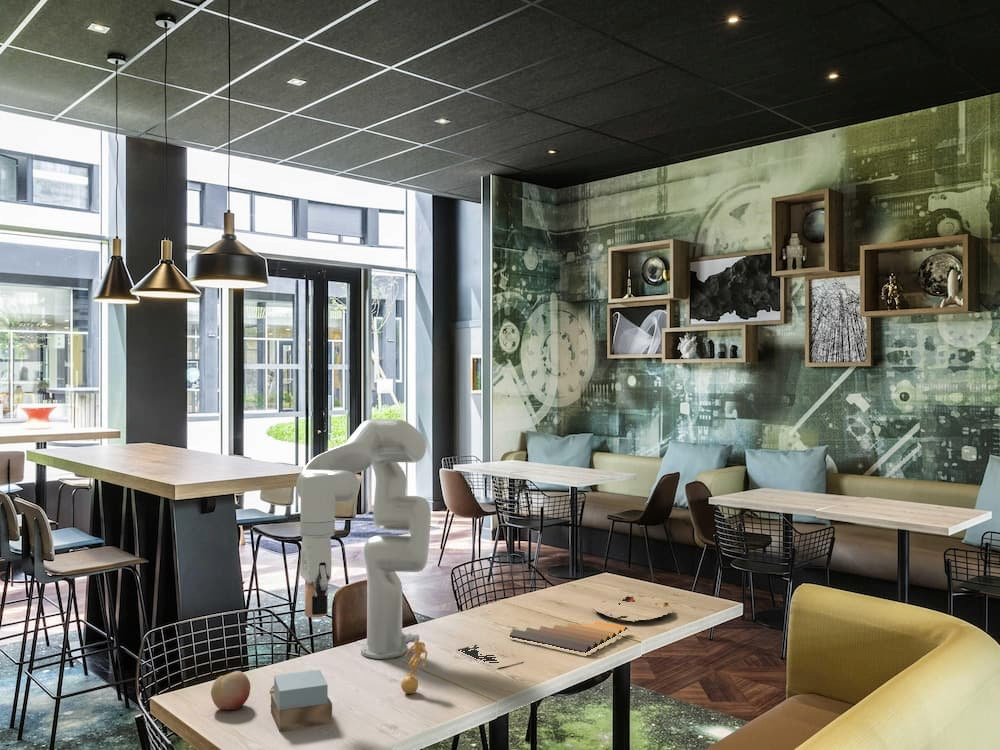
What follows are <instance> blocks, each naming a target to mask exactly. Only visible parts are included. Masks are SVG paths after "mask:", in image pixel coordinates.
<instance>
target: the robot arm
mask: <svg viewBox="0 0 1000 750" xmlns="http://www.w3.org/2000/svg"><path fill="white" fill-rule="evenodd" d="M426 450H427V444H426V440H425V437H424V435H423V434H422V433H421V432H420V431H419V429H417V428H416V427H414V426H413V425H412V424H411V423H409V422H407V421H405V420H402V419H397V418H396V419H395V418H393V419H392V418H391V419H390V418H387V419H386V418H384V419H383V418H382V419H381V418H375V419H374V418H372V419H367V420H364V421H363V422H361V423H360V424H359V426H358V427H357V428H356V429H355V430H354V432H353V433H352V434H351V435H350V436H349V438H348V439H346V441H345V442H344V444H340V445H339V446H336V447H333V448H332V449H329V450H327V451H325V452H322V453H319V454H318V455H316V456H315V457H313V458H312V459H311V460H310V461H308V463H307V464H305V466H304V467H303V468H302V470H301V471H300V473H299V475H298V477H297V480H296V484H295V485H296V486H295V488H296V493H297V495H298V497H300V519H299V520H300V524H299V528H300V529H299V536H300V537H302V539H301V540H302V541H301V551H300V567H299V569H300V570H299V575H300V577H301V578H302V579H303V580H304V581H305V582H308V583H312V581H313V590H314V596H312V614H313V615H319V614H326V613H327V586H328V587H329V582H330V580H331V579H332V541H331V540H332V539H331V538H332V537H334V536H335V533H336V532H335V529H336V527H335V520H336V515H335V513H336V512H335V511H336V504H337V503H339V504H345V503H348V502H351V501H352V500H353V499H355V498H356V496H357V495H358V492H359V490H360V489H359V488H360V481H359V479H358V476H357V475H355V474H358V473H362V472H364V471H366V470H368V469H369V468H370V467H371V466H372V469H373V472H374V477H375V490H374V500H373V501H374V502H373V508H372V509H373V510H372V519H373V524H374V526H375V527H376V528H378V529H380V530H385V531H386V530H387V531H398V532H399V531H405V532H409V534H410V536H409V535H397V534H396V535H394V534H379V535H374V536H371V537H370V538H368V539H367V540H366V542H365V544H364V547H363V559H364V564H365V570H366V583H367V585H366V586H367V589H366V592H367V593H366V595H367V596H366V597H367V598H366V601H367V602H366V603H367V604H366V608H367V609H366V610H367V611H366V614H367V615H366V621H367V622H366V644H364V645H362V646H361V648H360V652H361V654H362V655H363V656H364V657H366V658H369V659H378V660H383V659H384V660H385V659H394V658H397V657H401V656H403V655H404V656H405V655H406V653H407V652H408V650H409V646H408V644H409V643H415V641H416V640H417V641H418V642H420V634H412V633H406V634H405V633H404V632H403V585H402V580H401V579H400V577H399V576H398V574H397V572H399V573H401V572H402V573H419V572H422V571H423V570H424V569H425V568H426V566H427V563H428V559H429V549H430V546H429V545H430V536H431V535H430V532H431V521H432V520H431V519H432V513H431V512H432V511H431V506H430V503H429V501H428V500H427V499H426V498H425V497H423V496H419V495H418V496H417V495H407V494H406V493H407V492H406V491H407V475H406V473H405V472H404V471H405V470H403V468H402V466H401V465H400V464H399V463H414V464H415V463H419V462H420V461H422V460H423V458H424V457H425V455H426ZM316 580H320V581H318V582H316ZM319 584H320V586H318V587H317V585H319Z"/></svg>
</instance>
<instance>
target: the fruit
mask: <svg viewBox="0 0 1000 750" xmlns="http://www.w3.org/2000/svg"><path fill="white" fill-rule="evenodd" d="M250 694H251V682H250V680H249V677H248V676H247V675H246V674H245V673H244V672H242V671H241V670H235V671H232V672H229V673H226V674H225V675H220V676H218V677H216V679H215V680H214V682H213V683H212V687H211V691H210V695H211V700H212V702H213V704H214V706H216V708H218V709H219V710H228V711H235V710H237V709H239V708H241V707H242V706H244V704H246V703H247V701H248V699H249V697H250ZM234 709H235V710H234Z"/></svg>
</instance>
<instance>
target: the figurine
mask: <svg viewBox="0 0 1000 750" xmlns="http://www.w3.org/2000/svg"><path fill="white" fill-rule="evenodd" d="M413 643H414V644H413V645H412V646H410V648H408V651H407V653H405V654H404V658H406V657H407V655H408V654H409V653H410V652H412V650H414V654H413V655H412V657H411V659H410V661H409V662H408V667H409V668H410V669H411V671H410V672H409V674H407V675H406V676H405V677H404V678H403V679H402V681H401V683H400V684H401V685H400V687H401V690H402V691H403V692H404V693H405V694H409V695H410V694H414V693H416V691H417V690H418V688H419V682H418V679H417V678H416V677H415V676H416V675H417V673H418V667H417V666H418V664H420V661H421V656H422V654H423V652H424V659H423V662H422V663H421V664H422V667H425V666H426V662H427V657H428V651H427V650H426V644H425V643H424V642H423V641H419V642H418V641H417V640H416V641H415V642H413Z"/></svg>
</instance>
